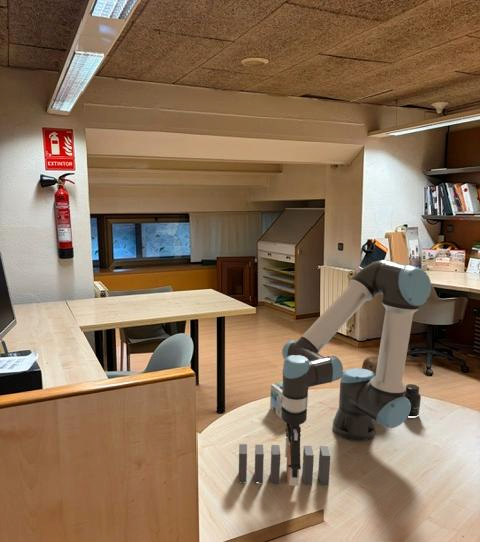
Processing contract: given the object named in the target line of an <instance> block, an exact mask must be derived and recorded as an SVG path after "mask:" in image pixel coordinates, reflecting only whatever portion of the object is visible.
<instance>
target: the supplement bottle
mask: <svg viewBox="0 0 480 542" xmlns="http://www.w3.org/2000/svg"><path fill="white" fill-rule="evenodd" d="M405 387H406V391H405V397H406V398H407V399H408V400H409V401H410V403H411V410H410V413H409V415H408V416H417V415H419V416H420V408H421V400H422V396H421V394H420V387H419V386H418V385H416V384H412V383H410V384H406V386H405Z"/></svg>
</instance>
